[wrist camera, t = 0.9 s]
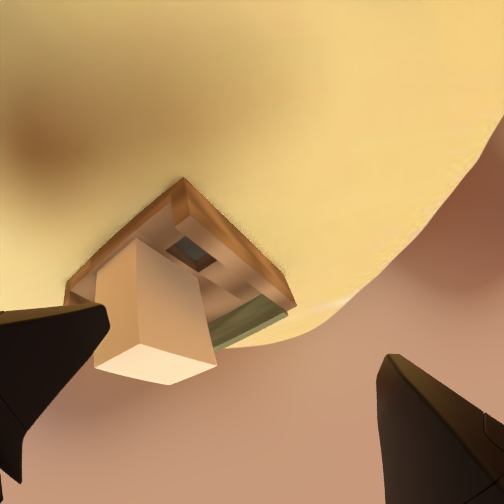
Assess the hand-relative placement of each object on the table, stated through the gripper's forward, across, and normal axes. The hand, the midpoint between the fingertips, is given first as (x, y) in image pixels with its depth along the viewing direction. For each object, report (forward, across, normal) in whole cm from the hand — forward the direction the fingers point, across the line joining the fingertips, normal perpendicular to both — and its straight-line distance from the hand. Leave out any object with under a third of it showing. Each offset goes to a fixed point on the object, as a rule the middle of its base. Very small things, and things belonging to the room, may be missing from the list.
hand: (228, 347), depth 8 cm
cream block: (+11, -10, -4) cm, 16 cm away
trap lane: (+15, -10, -7) cm, 19 cm away
